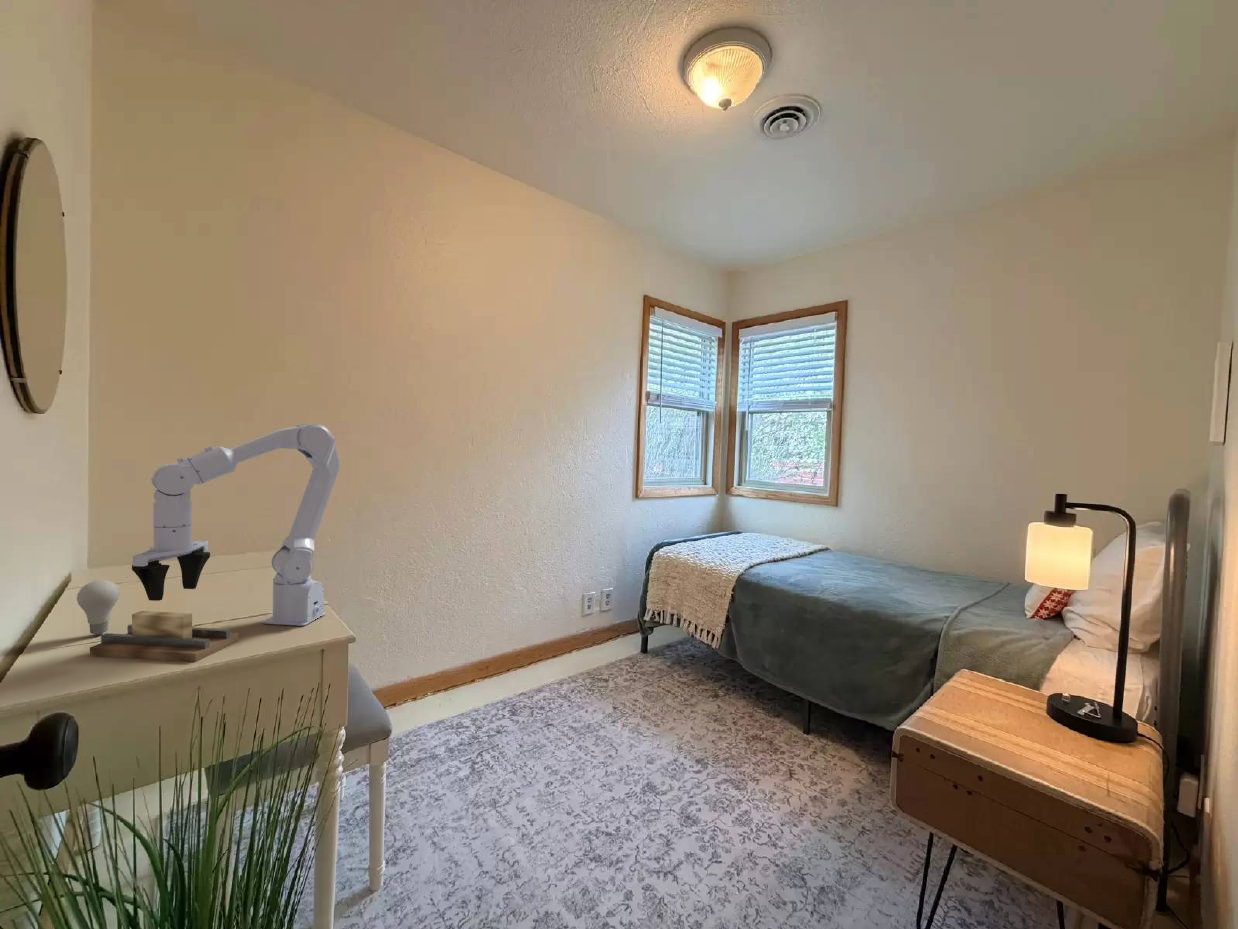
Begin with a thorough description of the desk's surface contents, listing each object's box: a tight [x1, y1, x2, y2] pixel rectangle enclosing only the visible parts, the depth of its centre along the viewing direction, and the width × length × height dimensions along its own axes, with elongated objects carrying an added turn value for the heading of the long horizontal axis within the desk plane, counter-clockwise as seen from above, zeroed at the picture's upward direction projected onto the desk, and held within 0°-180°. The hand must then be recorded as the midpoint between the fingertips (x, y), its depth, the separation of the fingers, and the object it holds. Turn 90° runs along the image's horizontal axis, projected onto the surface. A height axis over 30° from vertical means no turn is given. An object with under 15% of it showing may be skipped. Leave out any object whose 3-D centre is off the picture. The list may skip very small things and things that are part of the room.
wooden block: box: [131, 610, 193, 638], centre depth 99 cm, size 10×2×5 cm, turn 88°
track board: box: [89, 623, 239, 663], centre depth 99 cm, size 20×10×3 cm, turn 88°
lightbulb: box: [76, 579, 121, 636], centre depth 104 cm, size 6×6×11 cm
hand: (173, 594), depth 102 cm, fingers open, 7 cm apart
